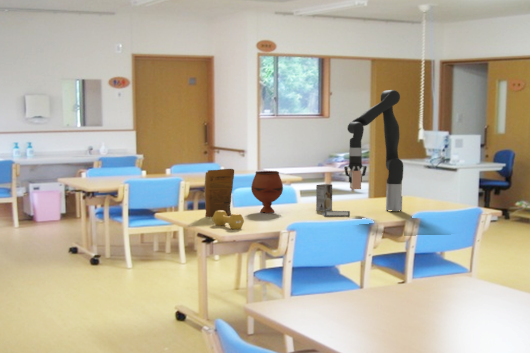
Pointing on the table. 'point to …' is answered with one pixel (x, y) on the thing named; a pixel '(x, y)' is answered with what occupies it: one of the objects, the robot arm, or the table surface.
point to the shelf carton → (356, 180)
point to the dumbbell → (228, 219)
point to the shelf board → (336, 213)
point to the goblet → (267, 188)
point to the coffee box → (324, 197)
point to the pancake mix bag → (218, 191)
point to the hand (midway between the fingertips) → (355, 182)
